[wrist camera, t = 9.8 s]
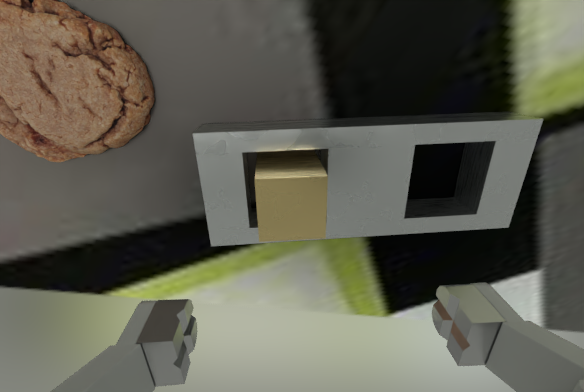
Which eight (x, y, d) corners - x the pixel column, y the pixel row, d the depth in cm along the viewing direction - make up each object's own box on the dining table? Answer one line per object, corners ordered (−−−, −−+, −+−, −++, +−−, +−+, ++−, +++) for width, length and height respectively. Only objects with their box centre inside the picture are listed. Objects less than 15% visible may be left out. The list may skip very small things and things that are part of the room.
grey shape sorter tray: (508, 111, 22) (543, 118, 19) (482, 209, 25) (508, 227, 22) (202, 123, 20) (192, 133, 18) (217, 225, 24) (211, 246, 21)
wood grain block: (312, 147, 22) (327, 176, 16) (312, 197, 23) (325, 238, 18) (257, 149, 21) (254, 179, 16) (261, 199, 23) (259, 242, 18)
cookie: (170, 151, 21) (156, 164, 19) (15, 159, 21) (-23, 174, 18) (134, -16, 17) (109, -30, 14) (-61, -11, 17) (-125, -25, 14)
